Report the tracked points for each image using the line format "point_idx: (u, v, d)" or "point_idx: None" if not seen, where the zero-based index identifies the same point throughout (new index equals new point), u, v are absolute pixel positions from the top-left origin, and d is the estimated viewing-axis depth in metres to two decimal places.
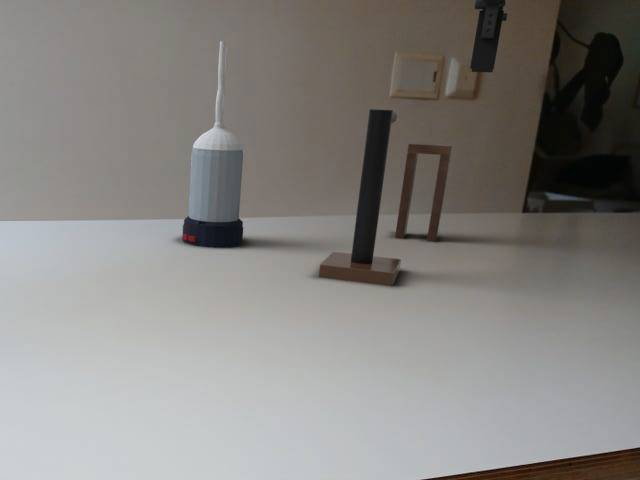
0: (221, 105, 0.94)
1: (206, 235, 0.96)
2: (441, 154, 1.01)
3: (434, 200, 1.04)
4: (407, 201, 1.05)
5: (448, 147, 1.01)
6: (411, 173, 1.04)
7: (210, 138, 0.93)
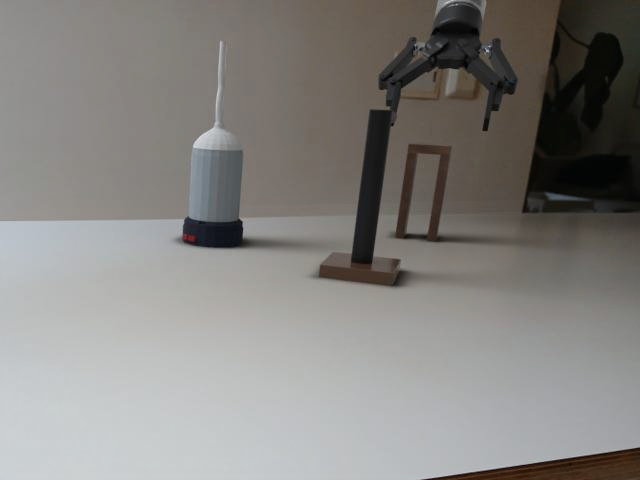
0: (221, 105, 0.94)
1: (206, 235, 0.96)
2: (441, 154, 1.01)
3: (434, 200, 1.04)
4: (407, 201, 1.05)
5: (448, 147, 1.01)
6: (411, 173, 1.04)
7: (210, 138, 0.93)
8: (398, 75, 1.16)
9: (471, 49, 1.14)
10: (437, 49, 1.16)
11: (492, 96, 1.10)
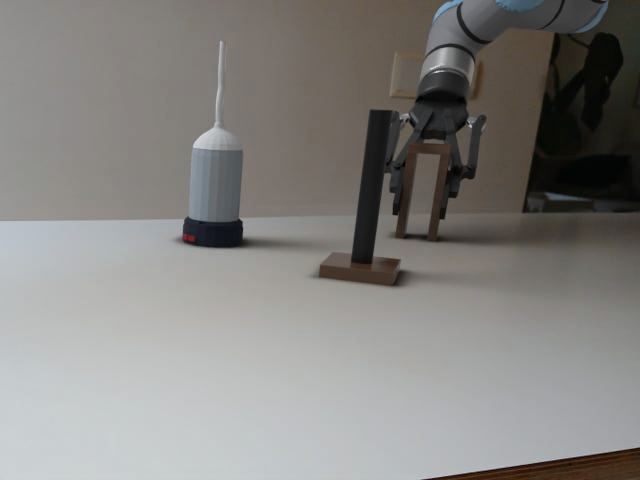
0: (221, 105, 0.94)
1: (206, 235, 0.96)
2: (441, 154, 1.01)
3: (434, 200, 1.04)
4: (407, 201, 1.05)
5: (448, 147, 1.01)
6: (411, 173, 1.04)
7: (210, 138, 0.93)
8: (400, 157, 1.07)
9: (451, 123, 1.07)
10: (421, 119, 1.08)
11: (449, 183, 1.02)
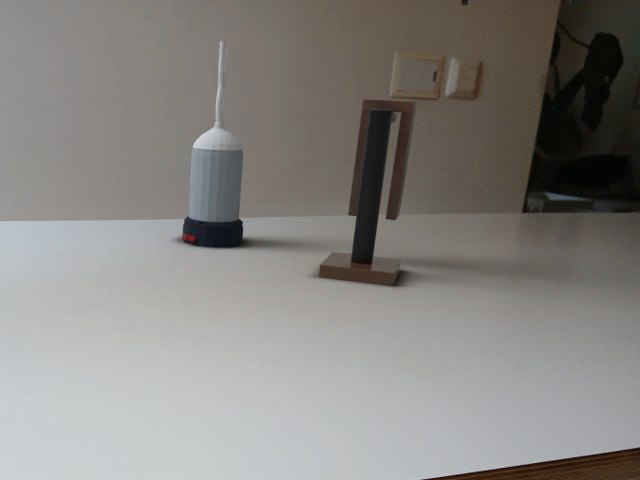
0: (221, 105, 0.94)
1: (206, 235, 0.96)
2: (402, 112, 0.83)
3: (394, 169, 0.85)
4: None
5: (410, 103, 0.82)
6: None
7: (210, 138, 0.93)
8: None
9: None
10: None
11: None
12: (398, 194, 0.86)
